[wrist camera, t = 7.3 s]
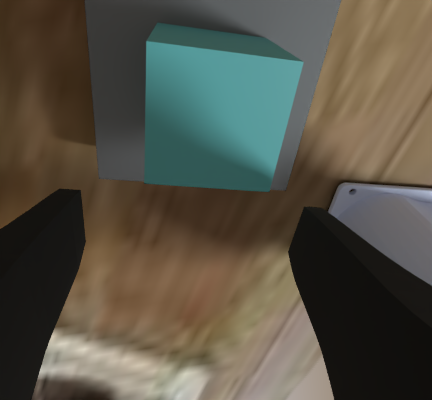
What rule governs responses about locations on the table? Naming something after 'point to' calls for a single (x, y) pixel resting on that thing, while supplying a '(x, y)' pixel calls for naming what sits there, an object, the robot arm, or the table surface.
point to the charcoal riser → (203, 19)
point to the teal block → (215, 108)
